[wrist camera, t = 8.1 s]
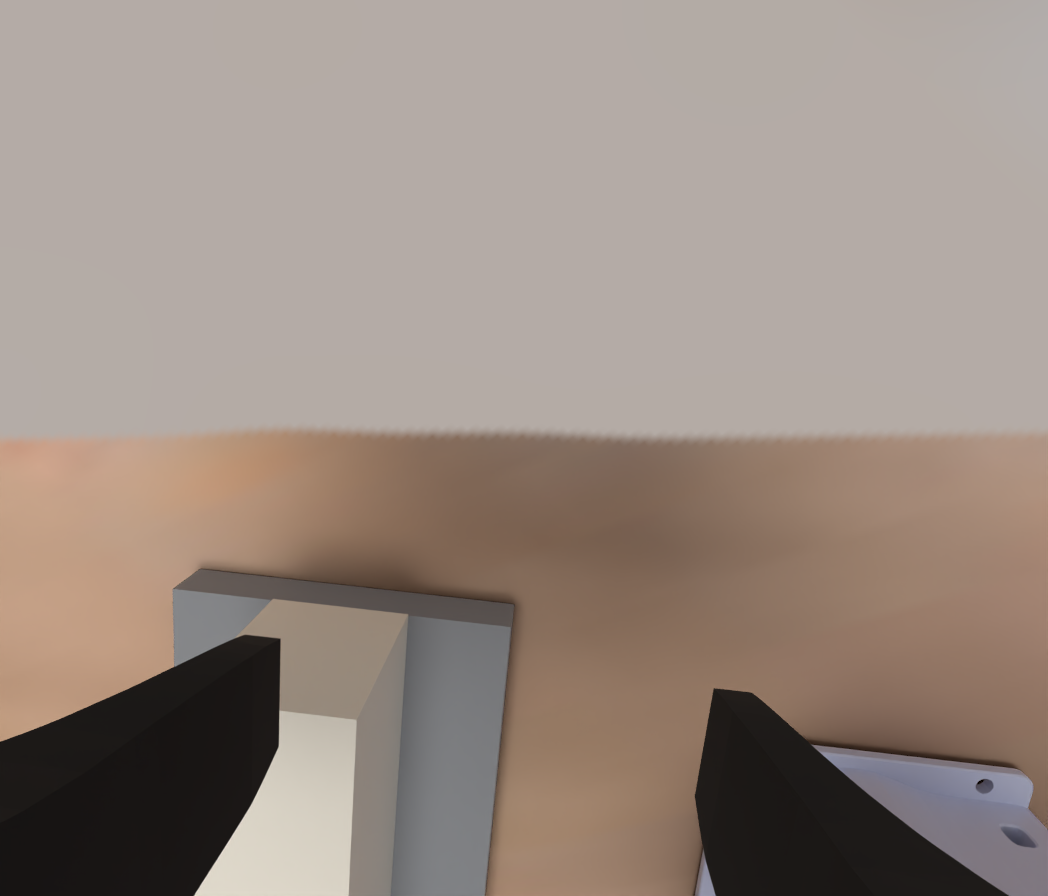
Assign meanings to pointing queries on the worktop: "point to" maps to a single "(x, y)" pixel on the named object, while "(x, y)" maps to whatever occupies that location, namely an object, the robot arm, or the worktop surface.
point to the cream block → (324, 759)
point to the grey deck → (403, 711)
